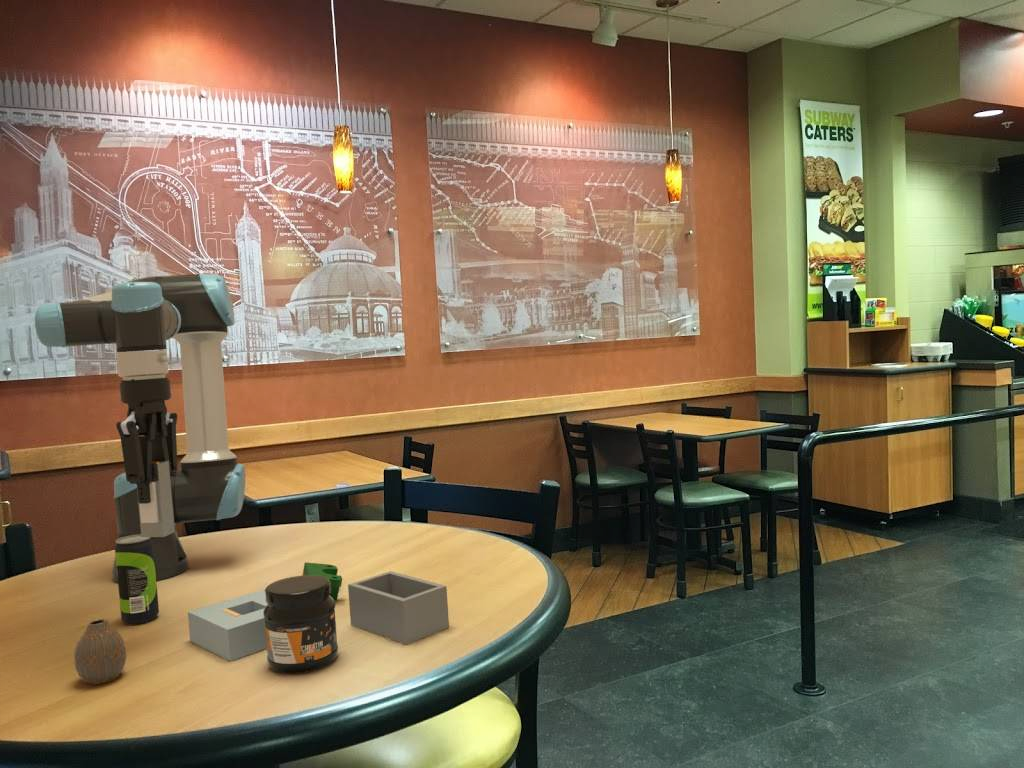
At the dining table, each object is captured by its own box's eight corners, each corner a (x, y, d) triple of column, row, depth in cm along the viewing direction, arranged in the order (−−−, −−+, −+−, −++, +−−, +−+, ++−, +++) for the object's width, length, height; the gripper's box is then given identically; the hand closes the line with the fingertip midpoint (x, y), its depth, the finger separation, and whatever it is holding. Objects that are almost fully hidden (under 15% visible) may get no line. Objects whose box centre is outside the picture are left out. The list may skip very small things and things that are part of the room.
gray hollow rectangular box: (350, 624, 138) (347, 584, 138) (393, 609, 145) (390, 571, 144) (406, 644, 128) (403, 601, 127) (449, 627, 134) (446, 586, 134)
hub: (190, 641, 135) (187, 611, 135) (266, 616, 145) (264, 588, 145) (230, 661, 125) (227, 629, 125) (309, 633, 135) (307, 603, 135)
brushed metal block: (141, 537, 133) (134, 463, 132) (152, 532, 136) (146, 460, 135) (163, 536, 132) (157, 462, 132) (174, 532, 136) (168, 459, 135)
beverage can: (167, 614, 149) (159, 534, 148) (141, 627, 143) (133, 543, 142) (140, 612, 151) (132, 533, 150) (113, 624, 145) (106, 542, 144)
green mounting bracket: (333, 625, 151) (343, 586, 148) (300, 623, 149) (310, 583, 146) (330, 584, 161) (340, 546, 158) (300, 581, 159) (309, 543, 156)
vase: (88, 671, 125) (83, 615, 124) (135, 667, 125) (130, 611, 125) (68, 691, 118) (62, 632, 117) (117, 686, 118) (111, 627, 118)
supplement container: (272, 682, 117) (265, 600, 116) (263, 657, 126) (257, 581, 126) (345, 666, 121) (339, 587, 120) (331, 643, 130) (326, 569, 130)
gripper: (134, 379, 124) (148, 531, 126) (192, 373, 140) (204, 507, 142) (90, 382, 125) (104, 532, 127) (152, 375, 141) (164, 508, 143)
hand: (157, 519), depth 134 cm, fingers closed on brushed metal block, 3 cm apart
